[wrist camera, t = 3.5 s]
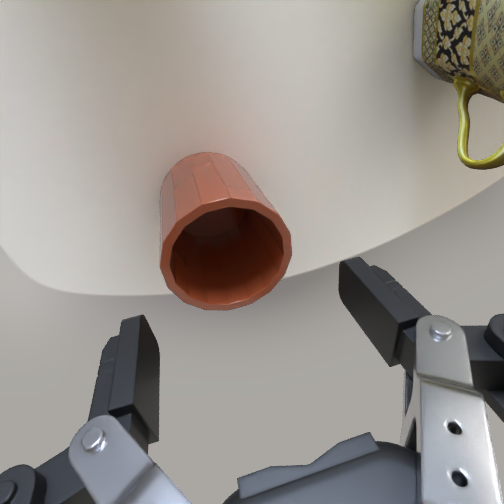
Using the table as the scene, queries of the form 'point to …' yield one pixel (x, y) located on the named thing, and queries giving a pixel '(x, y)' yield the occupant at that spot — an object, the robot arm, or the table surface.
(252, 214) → the cup
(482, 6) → the ceramic cup
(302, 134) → the table surface
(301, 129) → the table surface
